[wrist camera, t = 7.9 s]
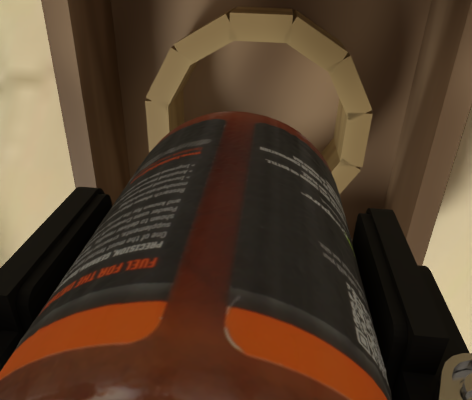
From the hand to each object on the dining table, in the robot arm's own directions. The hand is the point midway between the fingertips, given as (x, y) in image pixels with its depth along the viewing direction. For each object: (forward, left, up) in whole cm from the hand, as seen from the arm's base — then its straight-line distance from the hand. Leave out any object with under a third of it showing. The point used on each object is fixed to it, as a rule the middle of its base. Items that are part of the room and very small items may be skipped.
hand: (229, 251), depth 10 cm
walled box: (0, 0, -13) cm, 13 cm away
